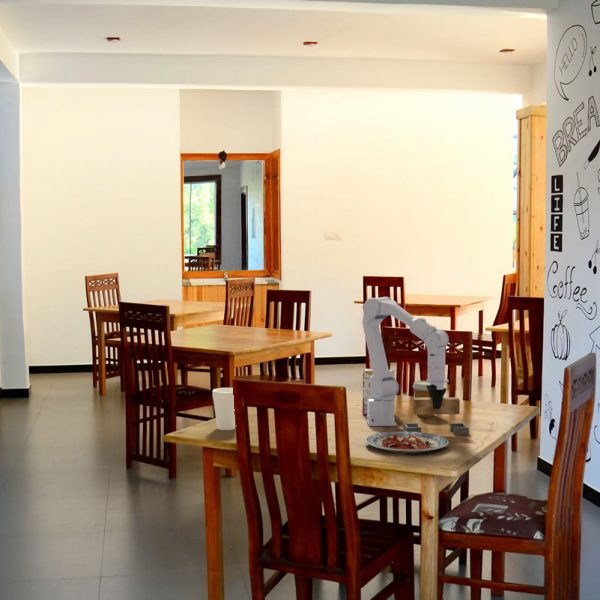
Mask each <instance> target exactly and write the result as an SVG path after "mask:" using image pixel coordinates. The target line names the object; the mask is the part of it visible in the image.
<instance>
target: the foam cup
mask: <svg viewBox="0 0 600 600" xmlns="http://www.w3.org/2000/svg"><path fill="white" fill-rule="evenodd" d="M233 388H234V387H220V388H219V387H218V388H213V390H212V400H213V405H214V412H215V413H214V414H215V421H216V422H215V423H216V427H217V429H218V430H219V431H231V430H232V431H233V430H236V429H235V415H234V411H235V409H234V395H233Z"/></svg>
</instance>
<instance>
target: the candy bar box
mask: <svg viewBox="0 0 600 600" xmlns="http://www.w3.org/2000/svg"><path fill="white" fill-rule="evenodd" d="M389 370H390V371H391V372H392V373H393V374H394V375H395V370H394V369H389ZM362 371H363V372H362V374H363V375H362V412H361V413H362V415H363V416H367V403H368V399H373V397H372V395H371V394H370V377H371V376H372V374H373V370H372V368H364V370H362ZM382 380H383V379H382ZM364 414H365V415H364Z"/></svg>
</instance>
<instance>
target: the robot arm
mask: <svg viewBox="0 0 600 600" xmlns="http://www.w3.org/2000/svg"><path fill="white" fill-rule="evenodd" d="M362 311H363V314H362V328H363V332H364V337H365V340H366V347H367V351H368V355H369V360H370V365H371V369H372V370H373V374H372V376H371V377H370V394H371V395H372V397H373V399H368V403H367V415H366V422H367V424H368V426H369V427H398V426H397V425H398V424H397V423H396V421H395V406H396V405H395V399H396V395H397V394H398V393H399V390H400V387H399V386H400V385H399V383H398V381H397V380H396V377H395V373H394V374H393V373H392V372H391V371H390V370H391V369H389V366H388V361H387V357H386V351H385V347H384V343H383V337H382V334H381V328H380V325H381V323H382V322H383V320H384V319H386V317H388V316H392V317H394V318H395V319H397V320H398V321H400V322H401V323H403V324H405V325H406V326H408V327H409V331H410V333H412V334H413V335H415V336H416V337H418V338H419V339H421V341H423V343H424V345H425V346H426V349H427V350H426V351H427V379H426V381H427V383H430V384H431V385H426V387H427V389H428V392H429V396H430V398H432V401H433V407H434V409H440V408H441V404H442V400H443V397H444V396H445V393H446V392H447V388H445V387H444V385H445V384H447V383H449V381H450V380H449V379H446V346H448V344H449V341H450V339H449V335H448V333H447V332H446V331H445V330H444V329H437V326H435V325H432V324H430V323H429V322H427V319H425V318H424V317H416V318H415V317H414V316H413V315H412V314H410V313H409V312H408V311H407V310H405V309H404V308H403V307H401V306H400V305H399V304H398V303H397V301H395V300H394V299H392V298H390V297H389V296H382V297H369V298H368V299H366V301H365V302H364V304H363V305H362ZM382 379H383V380H382Z"/></svg>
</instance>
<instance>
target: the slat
mask: <svg viewBox="0 0 600 600" xmlns="http://www.w3.org/2000/svg"><path fill="white" fill-rule="evenodd" d="M460 400H461V399H460V398H459V397H457V396H455V397H451V396H450V397H444V396H443V400H442V404H441V408H440V409H434V407H433V401H432V398H415V397H412V413H413V414H414V415H415V416H417V415H425V414H434V415H461V414H460V409H461V408H460V407H461V406H460V402H461V401H460Z"/></svg>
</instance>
